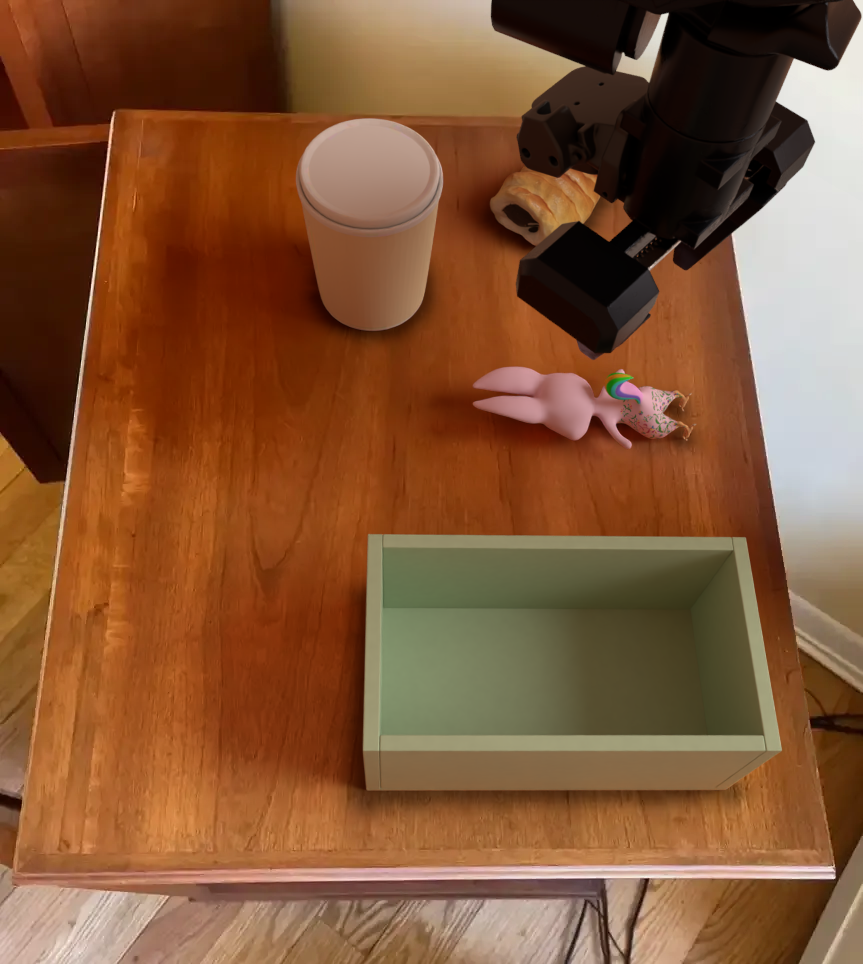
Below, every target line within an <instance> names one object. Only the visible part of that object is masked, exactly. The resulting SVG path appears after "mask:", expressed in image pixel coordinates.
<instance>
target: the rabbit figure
mask: <svg viewBox="0 0 863 964" xmlns="http://www.w3.org/2000/svg"><path fill="white" fill-rule="evenodd" d="M632 379H634V377H633V376H632V375H630V374H628V373H626V372H625V370H624V369H622V368H620V369H618V370H616V371H615V372H611V373H610V374H608V375H607V376H606V378H605V379H604V383H603V384H604V385H603V386H602V387H601V389H600V390H601V391H600V393H599V395H598V397H595V394H594V391H593V388H592V387H591V385H590V383H588V381H587V380H586V379H584V377H581V376H579V375H578V374H576V373H573V372H565V373H564V372H554V373H548V374H542V373H539V372H538V371H536V370H534V369H532V368H530V367H524V366H504V367H499V368H496V369H493V370H492V371H490V372H487V373H486V374H484V375H482V376H481V377H479V378H478V379H477V380H476V381H474V383H472V388H473V389H477V390H485V391H491V392H499V393H507V394H513V395H499V396H493V397H489V398H484V399H480V400H476V401H473V402H472V406H473V407H475V408H476V409H478V410H481V411H484V412H488V413H493V414H496V415H500V416H502V417H507V418H510V419H513V420H516V421H518V422H519V421H520V422H523V423H527V424H543V425H544V426H545V427H547V428H548V429H550V430H551V431H553V432H555V433H557V434H559V435H561V436H562V437H565V438H567V439H568V440H571V441H578V440H580V439H581V438H582V437H583V436H584V435H585V434H586V433H587V432H588V429H589V426H590V423H591V419H592V417H597V418H599V420H600V421H601V422H602V424H603V426H604V428H605V429H606V431H607V432H608V433H609V434H610V436H611V437H612V438H613V439H614V440H615V441H616V442H617V443H618V444H619V445H620V446H622V447H623V448H624V449H627V450H630V449H631V448H632V446H633V444H632V442H631V441H630V439H627V438H626V437H624V436H623V435H622V434H621V433H620V431H619V430H618V428H617V424H625V425H627V426H628V427H630V428H631V429H633V430H634V431H636V432H637V433H639V434H640V435H642V436H643V437H645V438H647V439H651V440H660V439H663V438H664V437H666V436H668V435H669V434H670V433H672V432H674V431H675V430H677V429H679V428H683V431H684V432H682V433H683V434H682V439H684V440H685V441H689V439H688V438H689V437H690V434H691V433H692V432H693V430H694V426H696V425H697V423H693V424H691V425H687V424H685V423H683V422H682V421H680V420H679V421H676V420H675V419H674V418H671V417H670V416H668V415H666V414H664V413H665V411H666V410H667V409H668V407H669V406H670V405H671V402H673V401H674V400H675V399H676V398H678V399H679V401H680V402H679V403H678V407H679V408H681V411H682V412H685V410H684V408H685V407H686V404H687V402H688V401H689V399H690V397H689V396H691V395H692V394H693V393H692V392H690V393H688V394H686V395H684V394H683V393H681V392H680V391H679V390H676V389H675V390H674V389H673V390H663V389H657V388H655V387H653V386H650V385H643V386H639V387H637V386H636V385H635V384H634V383H631V382H630V380H632Z"/></svg>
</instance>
